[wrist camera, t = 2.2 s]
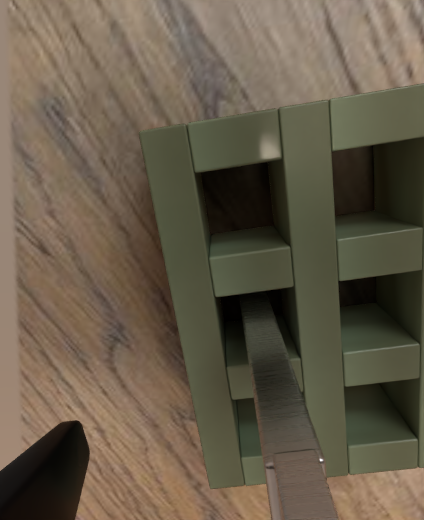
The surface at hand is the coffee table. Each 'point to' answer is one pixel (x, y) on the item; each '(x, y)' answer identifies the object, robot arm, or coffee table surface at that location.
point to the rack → (302, 278)
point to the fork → (283, 421)
